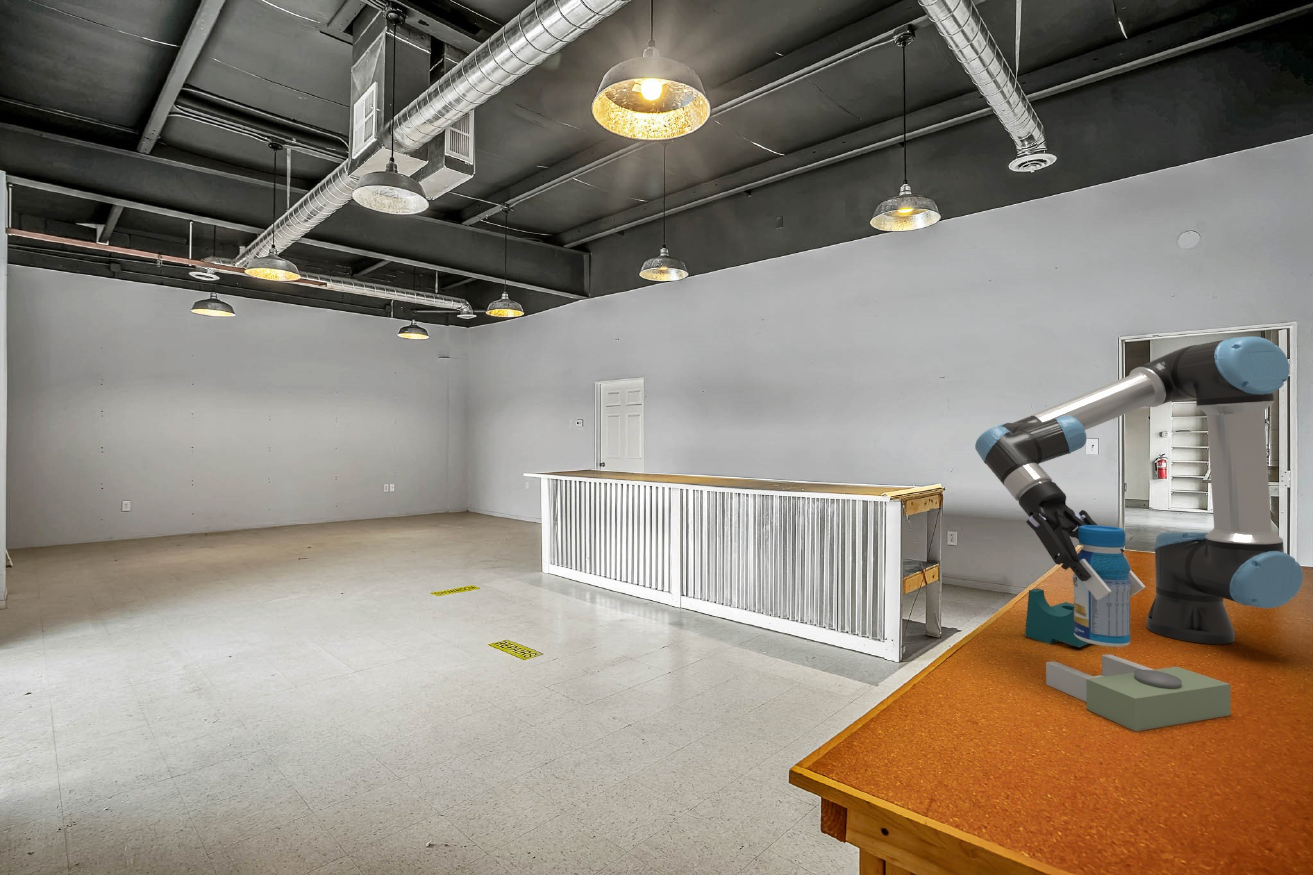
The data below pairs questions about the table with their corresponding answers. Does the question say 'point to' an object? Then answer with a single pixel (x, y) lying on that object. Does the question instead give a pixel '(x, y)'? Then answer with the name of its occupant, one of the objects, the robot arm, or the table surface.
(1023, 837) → the table surface
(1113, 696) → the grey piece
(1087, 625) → the blue capped bottle
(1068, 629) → the teal l-shaped bracket
